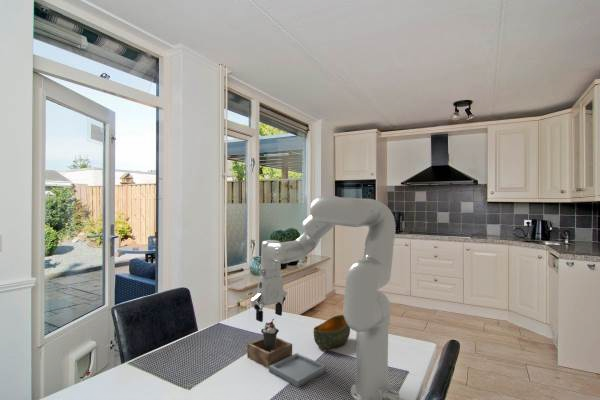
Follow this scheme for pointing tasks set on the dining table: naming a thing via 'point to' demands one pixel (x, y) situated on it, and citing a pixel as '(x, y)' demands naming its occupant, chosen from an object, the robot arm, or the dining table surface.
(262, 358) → the holder
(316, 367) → the tray
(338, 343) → the green bowl
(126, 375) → the dining table surface
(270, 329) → the sundae
